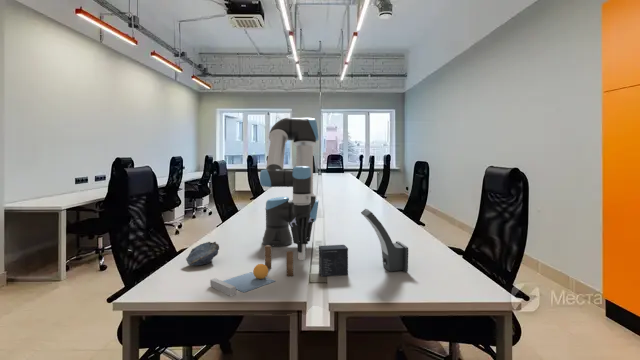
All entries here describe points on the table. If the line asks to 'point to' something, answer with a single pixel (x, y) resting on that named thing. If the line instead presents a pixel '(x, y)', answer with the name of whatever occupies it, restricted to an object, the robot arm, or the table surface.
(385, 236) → the grey curved piece
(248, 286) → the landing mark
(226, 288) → the wall
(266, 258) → the post
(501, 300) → the table surface
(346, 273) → the box
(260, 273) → the ball
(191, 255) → the rock
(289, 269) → the post
